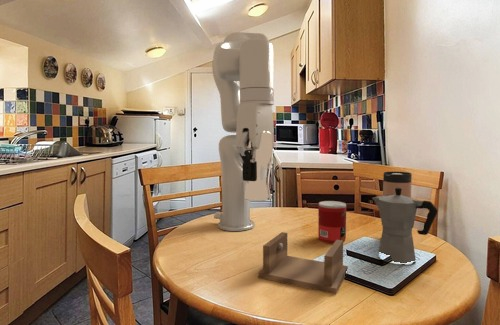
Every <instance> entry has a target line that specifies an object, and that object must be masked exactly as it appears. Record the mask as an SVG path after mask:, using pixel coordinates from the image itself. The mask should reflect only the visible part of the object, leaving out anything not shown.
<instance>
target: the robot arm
mask: <svg viewBox="0 0 500 325" xmlns="http://www.w3.org/2000/svg"><path fill="white" fill-rule="evenodd" d="M211 62H212V63H211V67H212V69H211V70H212V71H211V72H212V75H213V79H214V83H215V87H216V88H217V90H218V92H219V93H218V94H219V98H220V114H221V115H220V116H221V125H222V129H223V130H224V131H225V132H226V133H232V134H231V135H230V134H228V135H226V136H225V135H224V136H223V137H222V138H221V139H220V140H219V142H218V154H219V158H220V159H219V160H220V166H221V194H222V196H221V197H222V200H221V201H222V202H221V203H222V209H221V210H222V212H219V211H216V212H214V215H213V218H214V219H215V220H219V222H218V224H217V227H218V228H219V229H221V230H223V231H228V232H243V231H247V230H251V229H253V228H254V227H255V224H256V223H255V222H254V221H253V220H252V219H251V201H249V200H245V199H244V194H245V188H246V181H256V180H257V163H254V162H255V157H256V150H257V149H259V147H260V142H261V135H262V132H272V133H271V134H272V147H273V148H275V142H274V141H275V125H274V113H273V106H274V105H275V104H274V102H275V101H274V100H275V99H274V96H275V95H274V91H275V90H274V87H275V84H274V46H273V43H272V42H271V41H270V40H269V37H267V36H266V35H265V34H264V33H260V32H242V31H241V32H240V31H239V32H231V33H229V34H227V36H226V37H225V38H224V39H223V41H222V42H220V43H218V44H217V45H216V46H215V48H214V51H213V58H212V61H211ZM236 82H238V83H239V84H238V83H236ZM234 133H235V134H234ZM248 139H250V141H251V142H252V147H253V148H246V144H247V141H248ZM249 151H252V152H251V155H250V153H249ZM271 177H272V170H271V171H270V177H269V178H271Z"/></svg>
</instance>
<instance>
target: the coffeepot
mask: <svg viewBox="0 0 500 325" xmlns="http://www.w3.org/2000/svg"><path fill="white" fill-rule="evenodd" d="M401 190H402V189H401V188H395V192H396V195H390V196H383V195H379V196H375V197H372V198H371V199H372V200H373V202H374V203H375V204H376V206H377V208H378V210H379V212H380V219H381V226H382V232H381V238H380V243H379V248H378V252H381V253H384V254H386V255H390V256H391V258H392V261H394V262H400V263H407V262H411V261H415V260H417V259H416V252H415V251H416V250H415V245H414V239H413V238H414V237H413V229H414V224H415V221H416V216H417V210H418V209H427V210H428V212H427V214H426V220H425V221H424V223H423V229H422V230H421V229H417V230H416V231H417V234H419V235H423V236H427V235H428V234H429V232H430V230H431V227H432V225H433V223H434V222H435V221H434V220H435V218H436V217H437V215H438V208H437V207H436V206H435V204H434V203H433V202H432V201H429V200H422V199H421V200H420V199H417V198H413V197H411V198H410V197H406V196H403V195H401Z"/></svg>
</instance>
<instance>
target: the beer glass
mask: <svg viewBox="0 0 500 325" xmlns="http://www.w3.org/2000/svg"><path fill="white" fill-rule="evenodd" d="M271 133H272V132H262V135H261V142H260V147H259V149H257V150H256V157H255V162H254V163H257V180H256V181H246V188H245V194H244V199H245V200H249V201H250V202H264V201H265V202H266V201H269V200H271V198H272V194H271V191H270V178H271V177H270V171H271V172H272V163H273V153H274V152H273V149H274V147H272V134H271ZM246 148H253V147H252V142H251V141H250V139H248V141H247V144H246ZM251 152H252V151H249V153H250V155H251Z"/></svg>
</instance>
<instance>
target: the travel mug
mask: <svg viewBox="0 0 500 325" xmlns="http://www.w3.org/2000/svg"><path fill="white" fill-rule="evenodd" d="M412 175H413V174H412V173H411V172H409V171H383V175H382V176H383V184H382V185H383V186H382V196H390V195H396V192H395V188H401V189H402V190H401V195H403V196H406V197H410V198H412V180H413V179H412Z"/></svg>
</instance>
